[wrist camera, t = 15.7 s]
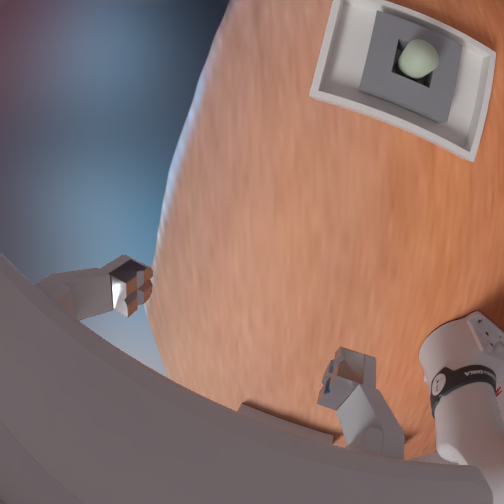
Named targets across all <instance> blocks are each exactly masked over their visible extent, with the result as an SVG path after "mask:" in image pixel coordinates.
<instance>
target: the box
mask: <svg viewBox="0 0 504 504" xmlns="http://www.w3.org/2000/svg"><path fill="white" fill-rule="evenodd" d="M415 39H420V40H424V41H426V42H428V43H430V44H431V45H432V46H433V47H434V48H435V49H436V51H437V53H438V56H439V64H438V66H437V67H436V68H435V69H434V70H433V71H431V72H430V73H428V74H427V75H425V76H424V77H422V78H421V79H420V80H418V81H417V82H415V81H413V80H410V79H408V78H405V77H403V76H400V75H398V74H397V73H396V71H395V63H396V61H397V59H398V58H399V56H400V55H401V53H402V52H403V51H404V49H405V48H406V46H407V44H408V43H409V42H410V41H412V40H415ZM495 59H496V52H494V51H493V50H491V49H490V48H488V47H486V46H485V45H483V44H481V43H480V42H478V41H476V40H475V39H473V38H471V37H469V36H467V35H466V34H464V33H462V32H460V31H458V30H456V29H454V28H452V27H450V26H448V25H446V24H444V23H442V22H440V21H437V20H435V19H433V18H431V17H428V16H426V15H424V14H421V13H419V12H416V11H414V10H411V9H409V8H406V7H403V6H400V5H398V4H395V3H392V2H389V1H386V0H333V3H332V7H331V11H330V15H329V19H328V23H327V27H326V31H325V35H324V39H323V43H322V47H321V51H320V55H319V59H318V63H317V67H316V71H315V75H314V78H313V82H312V86H311V90H310V94H309V96H310V97H312V98H313V99H315V100H319V101H322V102H326V103H329V104H333V105H336V106H339V107H342V108H345V109H348V110H352V111H354V112H357V113H360V114H363V115H366V116H369V117H372V118H374V119H377V120H380V121H382V122H385V123H387V124H390V125H392V126H395V127H397V128H400V129H402V130H404V131H407V132H409V133H411V134H414V135H416V136H418V137H420V138H422V139H425V140H427V141H429V142H431V143H433V144H435V145H437V146H439V147H441V148H443V149H445V150H447V151H449V152H451V153H453V154H455V155H457V156H458V157H460V158H462V159H464V160H467V161H471V162H474V160H475V156H476V153H477V150H478V146H479V143H480V139H481V135H482V131H483V127H484V123H485V119H486V114H487V110H488V105H489V100H490V94H491V88H492V82H493V75H494V68H495Z"/></svg>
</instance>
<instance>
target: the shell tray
mask: <svg viewBox="0 0 504 504" xmlns="http://www.w3.org/2000/svg"><path fill="white" fill-rule="evenodd" d="M237 412H239V413H241V414H244V415H246V416H249V417H251V418H254V419H256V420H259V421H261V422H264V423H267V424H269V425H272V426H275V427H278V428H280V429H283V430H286V431H289V432H292V433H295V434H298V435H301V436H304V437H308V438H311V439H314V440H317V441H321V442H324V443H328V444H332V442H333V437H334V435H330V434H327V433H323V432H320V431H316V430H313V429H310V428H307V427H304V426H301V425H298V424H295V423H292V422H289V421H286V420H283V419H281V418H278V417H275V416H272V415H270V414H267V413H265V412H262V411H259V410H257V409H254V408H252V407H249V406H247V405H245V404H242V403H241V405H240V407H239V409H238V411H237Z"/></svg>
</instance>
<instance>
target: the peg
mask: <svg viewBox="0 0 504 504" xmlns="http://www.w3.org/2000/svg"><path fill="white" fill-rule="evenodd" d="M438 64H439V56H438V53H437V51H436V49H435V48H434V47H433V46H432V45H431V44H430V43H428V42H426V41H424V40H420V39H415V40H412V41H410V42H409V43H408V44H407V46H406V48H405V49H404V51H403V52H402V53H401V55H400V56H399V58H398V59H397V61H396V63H395V71H396V73H397V74H398V75H400V76H403V77H405V78H408V79H410V80H413V81H415V82H417V81H418V80H420V79H421V78H422V77H424V76H425V75H427V74H428V73H430V72H431V71H433V70H434V69H435V68H436V67H437V66H438Z"/></svg>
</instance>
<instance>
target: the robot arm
mask: <svg viewBox="0 0 504 504" xmlns="http://www.w3.org/2000/svg"><path fill="white" fill-rule="evenodd" d="M152 277H153V270H152V269H151V267H148V266H146V265H145V264H143V263H141V262H139V261H137V260H135V259H133V258H131V257H129V256H127V255H121V256H120V257H118V258H116V259H115V260H113V261H112V262H110V263H108V264H107V265H105V266H104V267H102V268H100V269H98V268H93V269H84V270H77V271H69V272H61V273H54V274H51V275H50V276H48V277H46V278H45V279H43V280H41V281H40V282H38V283H37V284H35V285H34V284H33V283H32V282H31V281H30V280H28V279H27V278H26V277H25V276H24V275H23V274H22V273H21V272H20V271H19V270H17V268H16V267H14V266H13V265H12V264H11V263H10V262H9V261H8V260H7V259H6V258H5V256H4V255H3V254H2V253H0V504H504V421H503V418H502V415H501V412H500V409H499V406H498V402H497V399H496V397H497V396H498V395H499V394H500V393H501V392H502V391H500V392H499V390H500V388H501V387H499V388H498V389H497V390H496V383H497V382H498V381H499V379H500V378H501V377H502V376H503V374H504V332H503V331H502V330H501V329H500V328H499V327H497V326H496V325H495V324H494V323H493V322H492V321H490V320H489V319H488V318H487V317H485V316H484V315H483V314H482V313H481V312H479V311H475V312H473V313H471V314H469V315H468V316H466V317H465V318H462V319H459V320H455V321H451V322H449V323H446V324H444V325H442V326H440V327H439V328H437V329H436V330H435V331H433V332H432V333H431V334H430V335H429V336H428V337H427V339H426V340H425V341H424V343H423V344H422V346H421V349H420V352H419V361H420V364H421V366H422V368H423V371H424V380H425V382H426V383H427V384H428V388H429V392H430V401H431V411H432V415H433V417H434V419H435V428H436V448H437V452H438V453H439V455H440V456H441V457H442V458H444V459H446V460H448V461H451V462H458V464H459V465H451V464H437V463H426V462H417V461H410V460H404V443H405V434H404V432H403V430H402V429H401V427H400V425H399V423H398V422H397V420H396V418H395V416H394V415H393V413H392V411H391V410H390V408H389V406H388V404H387V403H386V401H385V399H384V398H383V396H382V394H381V393H380V391H379V390H378V389H375V388H376V358H375V357H372V356H369V355H366V354H362V353H359V352H356V351H353V350H350V349H347V348H344V347H341V346H340V347H339V348H338V350H337V351H336V353H335V358H334V359H333V360H331V361H330V363H329V365H328V366H327V368H326V371H325V373H324V376H323V380H322V383H323V387H322V388H321V390H320V392H319V397H318V401H317V404H319V405H322V406H325V407H328V408H331V409H334V410H337V411H336V413H337V416H338V419H339V421H340V424H341V427H342V430H343V433H344V436H345V439H346V442H347V445H348V446H347V447H345V448H343V447H339V446H335V445H332V444H328V443H324V442H321V441H317V440H314V439H311V438H308V437H304V436H301V435H298V434H295V433H292V432H289V431H286V430H283V429H280V428H278V427H275V426H272V425H269V424H267V423H264V422H261V421H259V420H256V419H254V418H251V417H249V416H246V415H244V414H241V413H239V412H237V411H234V410H232V409H230V408H227V407H225V406H223V405H221V404H219V403H216V402H214V401H212V400H210V399H208V398H206V397H204V396H202V395H199V394H197V393H195V392H193V391H191V390H189V389H188V388H186V387H184V386H182V385H180V384H178V383H176V382H174V381H172V380H170V379H168V378H167V377H165V376H163V375H161V374H159V373H158V372H156V371H154V370H153V369H151V368H149V367H147V366H146V365H144V364H142V363H141V362H139V361H137V360H136V359H134V358H133V357H131V356H129V355H128V354H126V353H125V352H123V351H121V350H120V349H118V348H117V347H115V346H114V345H112V344H111V343H109V342H108V341H106V340H105V339H103V338H102V337H100V336H99V335H97V334H96V333H95V332H93V331H92V330H90V329H89V328H88V327H86V326H85V325H83V324H82V323H81V322H80V321H79V320H83V319H86V318H89V317H93V316H96V315H99V314H102V313H106V312H109V311H112V310H113V309H114V310H115V311H117V312H119V313H121V314H122V315H124V316H126V317H129V316H130V315H131V314H133V313H134V312H135V311H136V310H137V307H138V305H141V304H144V303H145V302H146V301H147V300H148V299H149V297H150V295H151V292H152V283H151V281H150V279H151V278H152ZM479 320H480V321H479ZM498 392H499V393H498ZM497 393H498V394H497ZM496 394H497V395H496Z"/></svg>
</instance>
